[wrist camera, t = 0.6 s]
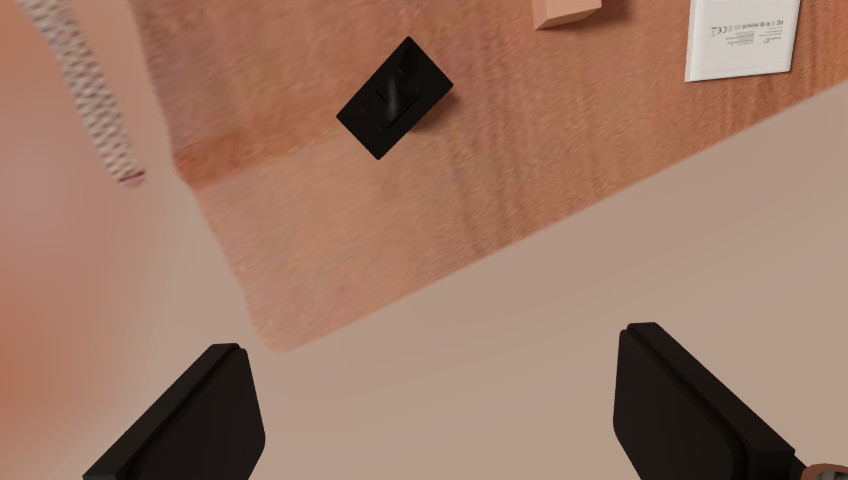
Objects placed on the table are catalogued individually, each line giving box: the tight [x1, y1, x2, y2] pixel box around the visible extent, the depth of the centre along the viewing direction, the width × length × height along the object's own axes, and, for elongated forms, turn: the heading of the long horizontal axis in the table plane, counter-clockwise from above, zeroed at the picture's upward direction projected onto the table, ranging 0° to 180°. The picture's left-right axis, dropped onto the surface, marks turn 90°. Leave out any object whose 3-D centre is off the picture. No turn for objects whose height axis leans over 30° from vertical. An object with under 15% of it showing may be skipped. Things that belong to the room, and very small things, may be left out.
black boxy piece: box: [336, 36, 453, 160], centre depth 34 cm, size 12×7×5 cm, turn 134°
